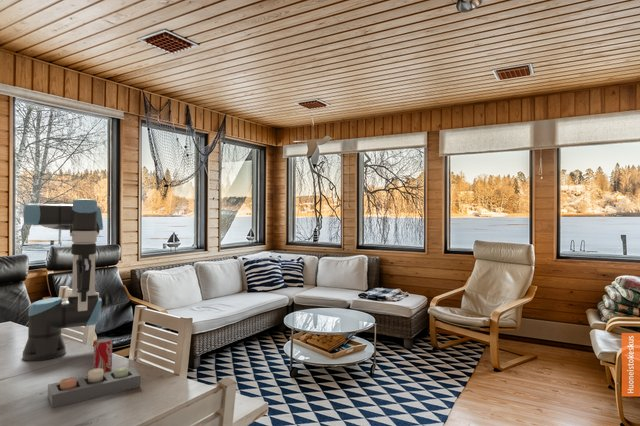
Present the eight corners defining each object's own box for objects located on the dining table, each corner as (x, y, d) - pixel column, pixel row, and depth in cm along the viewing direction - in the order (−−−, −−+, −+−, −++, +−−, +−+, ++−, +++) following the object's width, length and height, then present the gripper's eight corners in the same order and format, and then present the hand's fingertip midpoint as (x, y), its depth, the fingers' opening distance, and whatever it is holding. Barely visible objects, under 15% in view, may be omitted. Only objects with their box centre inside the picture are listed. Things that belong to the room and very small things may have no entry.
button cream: (86, 379, 139) (86, 370, 139) (101, 376, 142) (101, 367, 142) (89, 383, 136) (89, 374, 136) (104, 380, 139) (105, 371, 139)
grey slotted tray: (47, 396, 135) (48, 384, 135) (131, 377, 151) (132, 366, 151) (52, 408, 127) (52, 395, 127) (140, 386, 144) (140, 375, 144)
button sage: (112, 377, 144) (112, 368, 144) (126, 374, 147) (126, 366, 147) (115, 381, 141) (115, 372, 141) (129, 378, 144) (130, 369, 144)
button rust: (58, 389, 134) (59, 379, 134) (75, 385, 137) (75, 376, 137) (61, 393, 131) (61, 384, 131) (77, 390, 134) (77, 381, 134)
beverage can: (103, 375, 153) (104, 343, 153) (89, 373, 154) (90, 341, 154) (115, 369, 159) (116, 338, 159) (101, 367, 160) (102, 337, 160)
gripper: (68, 242, 146) (66, 308, 146) (75, 244, 136) (73, 315, 136) (92, 241, 151) (90, 305, 151) (100, 243, 141) (98, 312, 141)
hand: (82, 310), depth 143 cm, fingers closed
